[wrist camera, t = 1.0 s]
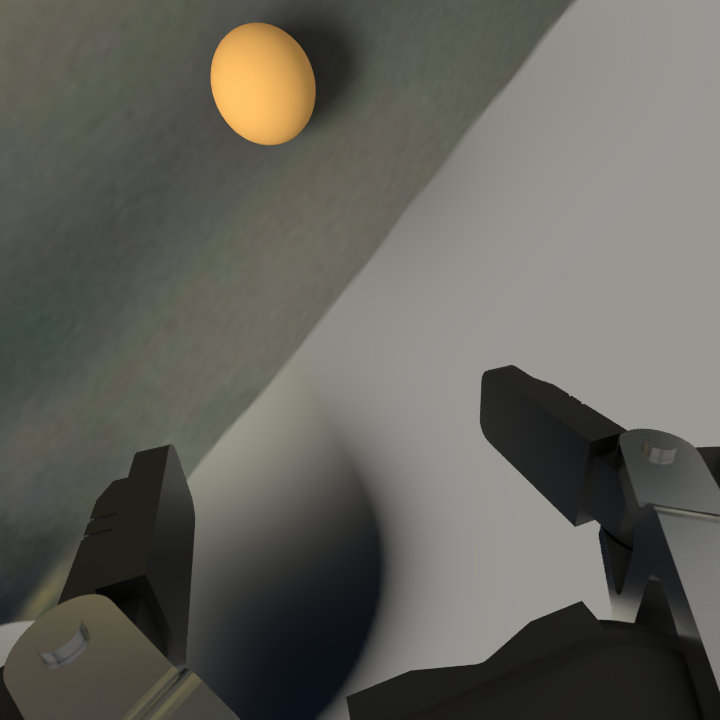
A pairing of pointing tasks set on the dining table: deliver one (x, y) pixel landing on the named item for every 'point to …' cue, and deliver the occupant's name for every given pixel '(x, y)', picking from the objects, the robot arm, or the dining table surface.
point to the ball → (263, 83)
